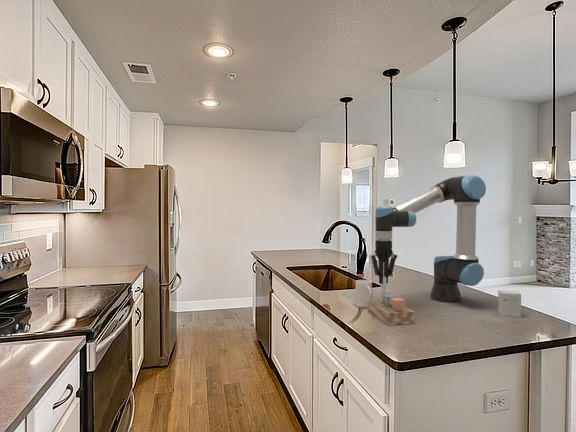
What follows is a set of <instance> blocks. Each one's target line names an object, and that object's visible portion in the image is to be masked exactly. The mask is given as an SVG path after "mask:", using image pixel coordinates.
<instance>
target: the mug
mask: <svg viewBox="0 0 576 432" xmlns="http://www.w3.org/2000/svg"><path fill="white" fill-rule="evenodd" d="M368 301H373V281H372V280H369V279H368V280H365V279H358V280H355V303H354V305H355V307H356V306H357V307H359V308H368Z"/></svg>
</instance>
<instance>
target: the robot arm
mask: <svg viewBox="0 0 576 432" xmlns="http://www.w3.org/2000/svg"><path fill="white" fill-rule="evenodd" d="M486 191H487V185H486V183H485V181H484V180H483V179H482V178H481V177H480V176H478V175H470V174H467V175H463V176H462V175H461V176H453V177H449V178H447V179H444V180H442V181H441V182H438V183H437V184H435V185H433V186H431V187H430V189H429V190H427V191H424V192H423V193H421V194H418V195H417V196H413V197H412V198H410V199H408V200H406V201H404V202H402V203H400V204H398V205H396V206H394V207H392V206H378V207H376V208H375V216H374V217H375V242H374V243H375V245H374V246H375V250H374V253H373V254H369V258H370V260H371V262H372V266H373V272H374V275H375V276H377V277H378V283H379V284H380V290H382V291H386V290H387V284H388V283H389V278H390V276H392V275H393V272H394V267H395V263H396V260H397V259H398V255H397V254H395V253H394V252H393V241H392V240H393V228H408V227H409V228H410V227H414V226H415V225H416V224H417V215H416V213H418V212H420V211H423V210H425V209H426V208H429V207H431V206H432V205H434V204H437V203H439V204H441V203H443V202H445V201H451V200H452V201H453V204H454V205H455V206H456V238H455V239H456V242H455V254H454V255H438V256H437V255H436V256H435V257H434V260H433V286H432V288H431V291H430V295H429V297H430V299H433V300H434V301H439V302H445V303H456V302H460V301H462V294H461V291H460V288H459V286H458V285H459V284H461V285H463V286H469V287H474V286H476V285H478V284H479V283H481V281H482V280H483V278H484V276H485V269H484V267H483V265H481V264H480V263H479V259H480V258H479V257H478V256H477V255H476V239H477V238H476V237H477V233H476V232H477V206H478V205H480V204H481V199H482V198H484V195H485V194H486Z"/></svg>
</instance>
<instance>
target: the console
mask: <svg viewBox="0 0 576 432" xmlns="http://www.w3.org/2000/svg"><path fill="white" fill-rule="evenodd" d="M367 309H368V312H369V313H370V314H371V315H373V316H374V317H375V318H377V319H379V320H380V321H381V322H382V323H384V324H385V325H387V326H399V325H411V324H415V311H414V310H412V309H410V308H408V307H407V306H406V305H405V306H402V311H401V312H394V311H393V310H392V307H389V308H388V307H386V306H385V303H384V304H381V303H380V302H379V299H378V300H372V301H368V307H367Z"/></svg>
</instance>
